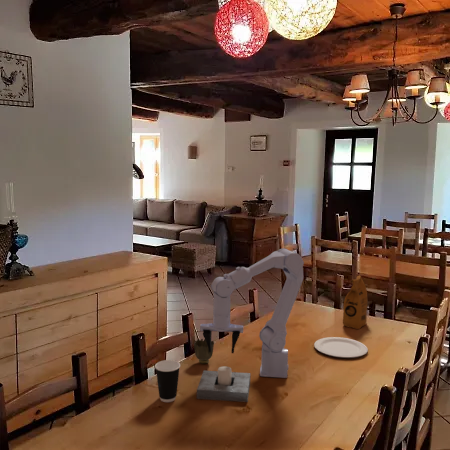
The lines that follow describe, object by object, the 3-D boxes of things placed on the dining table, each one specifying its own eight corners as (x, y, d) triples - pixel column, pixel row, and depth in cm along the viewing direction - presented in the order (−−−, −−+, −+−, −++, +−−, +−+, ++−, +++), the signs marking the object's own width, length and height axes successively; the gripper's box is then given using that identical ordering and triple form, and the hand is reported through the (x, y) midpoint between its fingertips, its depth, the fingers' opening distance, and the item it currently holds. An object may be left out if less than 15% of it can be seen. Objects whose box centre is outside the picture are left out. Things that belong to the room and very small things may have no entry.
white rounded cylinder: (231, 386, 159) (232, 366, 158) (230, 393, 155) (230, 372, 154) (218, 386, 159) (218, 365, 159) (217, 392, 155) (217, 371, 154)
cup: (211, 367, 173) (211, 346, 172) (191, 365, 175) (191, 344, 174) (215, 359, 180) (215, 339, 179) (196, 357, 182) (196, 337, 181)
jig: (250, 381, 163) (250, 373, 162) (247, 402, 149) (247, 392, 149) (203, 378, 165) (203, 370, 164) (196, 398, 151) (196, 389, 150)
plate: (309, 355, 186) (309, 351, 186) (319, 337, 205) (319, 333, 205) (364, 364, 178) (364, 360, 178) (370, 345, 197) (370, 341, 197)
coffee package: (338, 325, 219) (340, 278, 216) (349, 318, 229) (351, 273, 226) (360, 330, 213) (362, 282, 210) (369, 323, 223) (372, 276, 220)
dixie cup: (185, 397, 152) (185, 364, 150) (168, 407, 145) (168, 372, 144) (167, 390, 156) (166, 357, 155) (149, 399, 150) (149, 366, 148)
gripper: (198, 316, 158) (198, 355, 160) (242, 317, 157) (242, 357, 158) (201, 309, 165) (201, 347, 167) (243, 310, 164) (243, 349, 165)
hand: (221, 351), depth 163 cm, fingers open, 7 cm apart
